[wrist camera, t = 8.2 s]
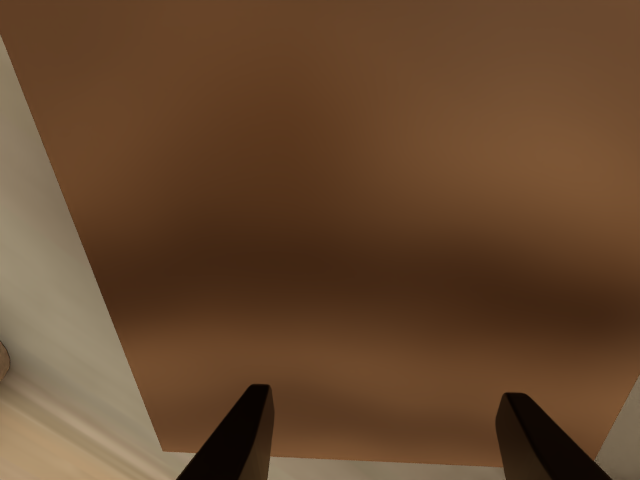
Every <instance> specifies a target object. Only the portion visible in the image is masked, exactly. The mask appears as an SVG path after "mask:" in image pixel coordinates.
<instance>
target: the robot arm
mask: <svg viewBox="0 0 640 480" xmlns="http://www.w3.org/2000/svg"><path fill="white" fill-rule="evenodd" d="M274 417H275V410H274V403H273V395H272V389H271V386H270V385H269V384H251V385H250V386H249V387H248V388H247V389H246V391H245V392H244V393H243V394H242V396H241V397H240V398H239V400H238V401H237V402H236V403H235V405H234V406H233V407H232V408H231V410H230V411H229V412H228V414H227V415H226V416H225V417H224V419H223V420H222V421H221V423H220V424H219V425H218V426H217V428H216V429H215V430H214V432H213V433H212V434H211V435H210V437H209V438H208V439H207V441H206V442H205V443H204V444H203V446H202V447H201V448H200V449H199V451H198V452H197V453H196V455H195V456H194V457H193V458H192V460H191V461H190V462H189V464H188V465H187V466H186V467H185V469H184V470H183V471H182V473H181V474H180V475H179V476H178V478H177V479H176V480H267V478H268V470H269V461H270V453H271V444H272V436H273V427H274ZM495 428H496V434H497V439H498V443H499V448H500V453H501V458H502V463H503V467H504V472H505V477H506V480H612V479H611V478H610V477H609V476H608V475H607V474H606V473H605V472H604V471H603V470H602V469H601V468H600V467H599V466H598V465H597V464H596V463H595V462H594V461H593V460H592V459H591V458H590V457H589V456H588V455H587V454H586V453H585V452H584V451H583V450H582V449H581V448H580V447H579V446H578V445H577V444H576V443H575V442H574V441H573V440H572V439H571V438H570V437H569V436H568V435H567V434H566V433H565V432H564V431H563V430H562V429H561V428H560V427H559V426H558V425H557V424H556V423H555V421H554V420H553V419H552V418H551V417H550V416H549V415H548V414H547V413H546V412H545V411H544V410H543V409H542V408H541V407H540V406H539V405H538V404H537V403H536V402H535V401H534V400H533V399H532V398H531V397H530V396H528V395H527V394H525V393H518V392H505V393H504V394H503V395H502V397H501V401H500V404H499V408H498V411H497V414H496V418H495Z"/></svg>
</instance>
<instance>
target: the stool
mask: <svg viewBox="0 0 640 480" xmlns="http://www.w3.org/2000/svg"><path fill="white" fill-rule="evenodd" d="M0 34H1V37H2V39H3V42H4V44H5V47H6V50H7V52H8V55H9V57H10V60H11V62H12V65H13V68H14V70H15V73H16V75H17V78H18V80H19V83H20V85H21V88H22V91H23V93H24V96H25V98H26V101H27V103H28V106H29V109H30V111H31V114H32V116H33V119H34V121H35V124H36V127H37V129H38V132H39V134H40V137H41V139H42V142H43V145H44V147H45V150H46V152H47V155H48V157H49V160H50V163H51V165H52V168H53V170H54V173H55V175H56V178H57V181H58V183H59V186H60V188H61V191H62V193H63V196H64V198H65V201H66V204H67V206H68V209H69V211H70V214H71V216H72V219H73V222H74V224H75V227H76V229H77V232H78V234H79V237H80V240H81V242H82V245H83V247H84V250H85V252H86V255H87V258H88V260H89V263H90V265H91V268H92V270H93V273H94V276H95V278H96V281H97V283H98V286H99V288H100V291H101V294H102V296H103V299H104V301H105V304H106V306H107V309H108V311H109V314H110V317H111V319H112V322H113V324H114V327H115V329H116V332H117V335H118V337H119V340H120V342H121V345H122V347H123V350H124V353H125V355H126V358H127V360H128V363H129V365H130V368H131V371H132V373H133V376H134V378H135V381H136V383H137V386H138V389H139V391H140V394H141V396H142V399H143V401H144V404H145V407H146V409H147V412H148V414H149V417H150V419H151V422H152V424H153V427H154V430H155V432H156V435H157V437H158V440H159V442H160V445H161V448H162V450H163V451H165V452H187V453H197V452H198V451H199V449H200V448H201V447H202V446H203V444H204V443H205V442H206V441H207V439H208V438H209V437H210V435H211V434H212V433H213V432H214V430H215V429H216V428H217V426H218V425H219V424H220V423H221V421H222V420H223V419H224V417H225V416H226V415H227V414H228V412H229V411H230V410H231V408H232V407H233V406H234V405H235V403H236V402H237V401H238V400H239V398H240V397H241V396H242V394H243V393H244V392H245V391H246V389H247V388H248V387H249V386H250V385H251V384H269V385H270V386H271V389H272V395H273V403H274V410H275V417H274V427H273V436H272V444H271V453H270V456H273V457H295V458H316V459H338V460H360V461H381V462H403V463H425V464H446V465H468V466H489V467H503V463H502V458H501V453H500V448H499V443H498V439H497V434H496V428H495V418H496V414H497V411H498V408H499V404H500V401H501V397H502V395H503V394H504V393H505V392H518V393H525V394H527V395H528V396H530V397H531V398H532V399H533V400H534V401H535V402H536V403H537V404H538V405H539V406H540V407H541V408H542V409H543V410H544V411H545V412H546V413H547V414H548V415H549V416H550V417H551V418H552V419H553V420H554V421H555V423H556V424H557V425H558V426H559V427H560V428H561V429H562V430H563V431H564V432H565V433H566V434H567V435H568V436H569V437H570V438H571V439H572V440H573V441H574V442H575V443H576V444H577V445H578V446H579V447H580V448H581V449H582V450H583V451H584V452H585V453H586V454H587V455H588V456H589V457H590V458H591V459H592V460H593V461H594V459H595V458H596V456H597V454H598V452H599V450H600V448H601V446H602V444H603V442H604V441H605V439H606V437H607V435H608V433H609V431H610V429H611V427H612V425H613V424H614V422H615V420H616V418H617V416H618V414H619V412H620V410H621V408H622V407H623V405H624V403H625V401H626V399H627V397H628V395H629V393H630V392H631V390H632V388H633V386H634V384H635V382H636V380H637V378H638V376H639V375H640V0H0Z"/></svg>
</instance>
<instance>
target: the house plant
mask: <svg viewBox="0 0 640 480" xmlns="http://www.w3.org/2000/svg"><path fill="white" fill-rule="evenodd" d="M9 367H10V359H9V356H8V353H7V350H6V349H5V347H4V346H3V345H2V343H1V342H0V382H1V380H2V379H3V377H4V376H5V374H6V373H7V371H8V369H9Z"/></svg>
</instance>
